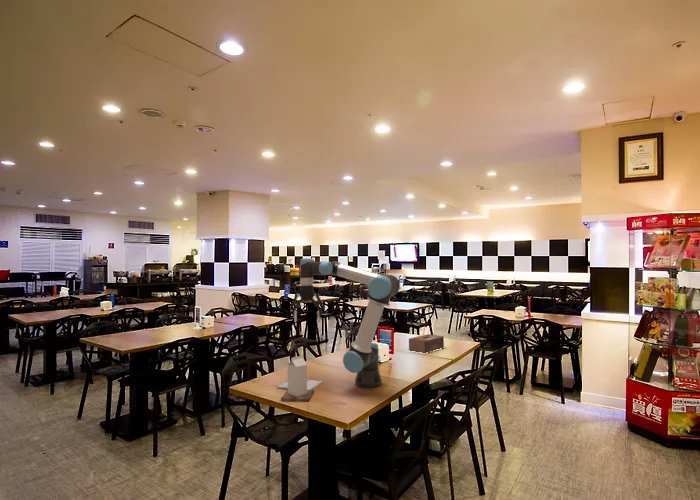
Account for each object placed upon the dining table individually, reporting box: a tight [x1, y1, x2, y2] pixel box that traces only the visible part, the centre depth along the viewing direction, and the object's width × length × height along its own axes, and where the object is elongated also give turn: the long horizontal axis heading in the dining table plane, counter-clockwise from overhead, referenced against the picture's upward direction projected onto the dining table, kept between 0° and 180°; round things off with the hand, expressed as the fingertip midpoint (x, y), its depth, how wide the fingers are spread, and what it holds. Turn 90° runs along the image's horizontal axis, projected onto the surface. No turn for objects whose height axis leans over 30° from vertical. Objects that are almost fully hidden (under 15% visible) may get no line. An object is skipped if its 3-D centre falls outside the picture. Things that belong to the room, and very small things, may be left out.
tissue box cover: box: [408, 333, 445, 353], centre depth 307 cm, size 26×14×10 cm, turn 134°
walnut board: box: [280, 389, 315, 403], centre depth 203 cm, size 14×14×2 cm
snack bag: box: [276, 378, 324, 390], centre depth 222 cm, size 19×20×2 cm
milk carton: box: [287, 354, 308, 397], centre depth 203 cm, size 7×7×19 cm
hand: (307, 321), depth 228 cm, fingers open, 13 cm apart
